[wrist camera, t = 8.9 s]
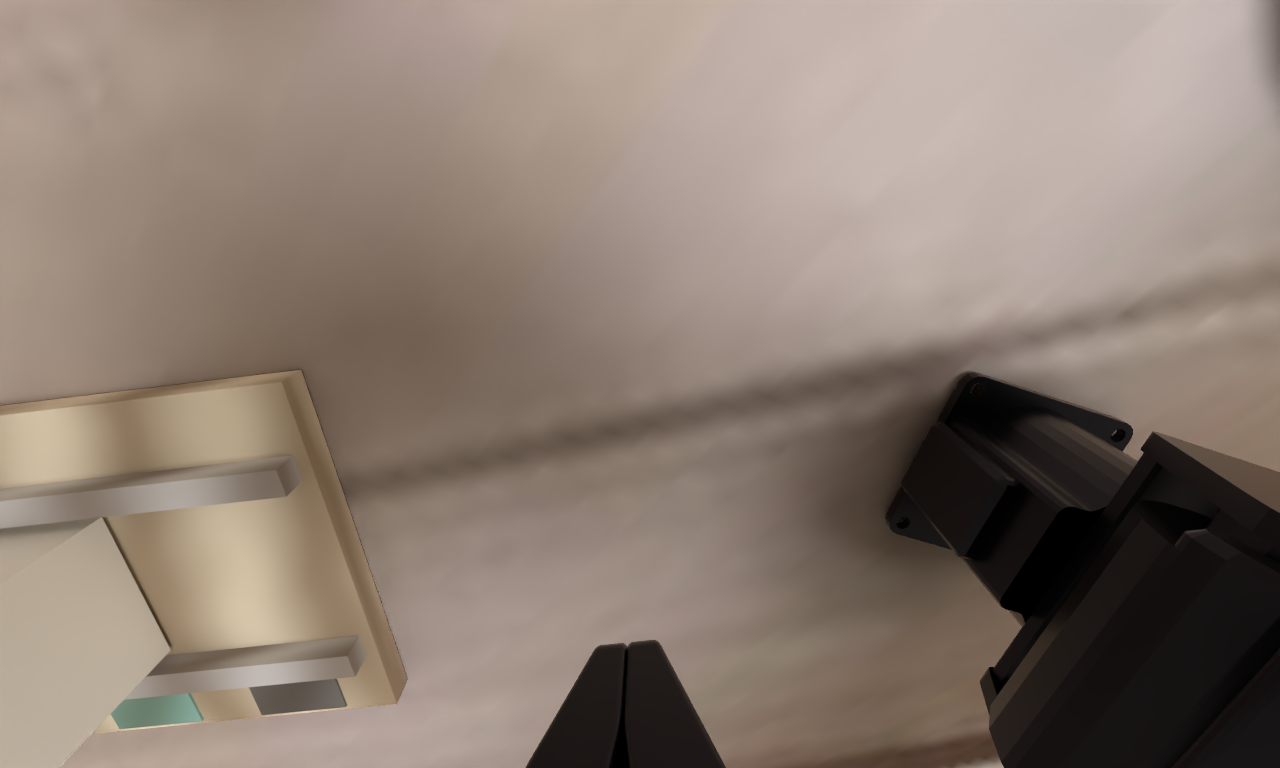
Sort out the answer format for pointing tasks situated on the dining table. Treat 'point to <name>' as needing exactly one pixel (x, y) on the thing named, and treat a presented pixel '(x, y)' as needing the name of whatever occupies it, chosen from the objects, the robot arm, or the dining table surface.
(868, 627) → the dining table surface
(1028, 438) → the robot arm
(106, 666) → the white rectangular tower
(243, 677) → the switch base
